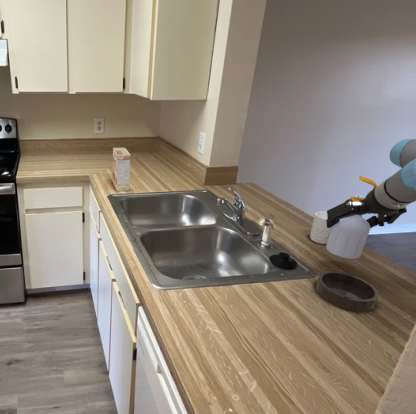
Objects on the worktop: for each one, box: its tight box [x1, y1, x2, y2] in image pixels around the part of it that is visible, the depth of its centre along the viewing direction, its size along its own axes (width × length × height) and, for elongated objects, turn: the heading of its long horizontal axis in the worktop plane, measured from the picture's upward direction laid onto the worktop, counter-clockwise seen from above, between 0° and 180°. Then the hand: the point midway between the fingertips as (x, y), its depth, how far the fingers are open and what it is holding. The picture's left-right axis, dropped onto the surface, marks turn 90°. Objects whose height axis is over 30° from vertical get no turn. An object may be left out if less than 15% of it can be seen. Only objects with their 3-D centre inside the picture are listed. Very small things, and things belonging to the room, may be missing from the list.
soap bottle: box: [325, 175, 378, 260], centre depth 100 cm, size 9×9×25 cm
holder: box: [315, 271, 379, 313], centre depth 93 cm, size 14×14×4 cm
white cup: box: [309, 210, 332, 245], centre depth 122 cm, size 8×8×10 cm
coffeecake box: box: [112, 147, 131, 192], centre depth 175 cm, size 15×7×20 cm, turn 6°
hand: (345, 225), depth 104 cm, fingers closed on soap bottle, 9 cm apart
